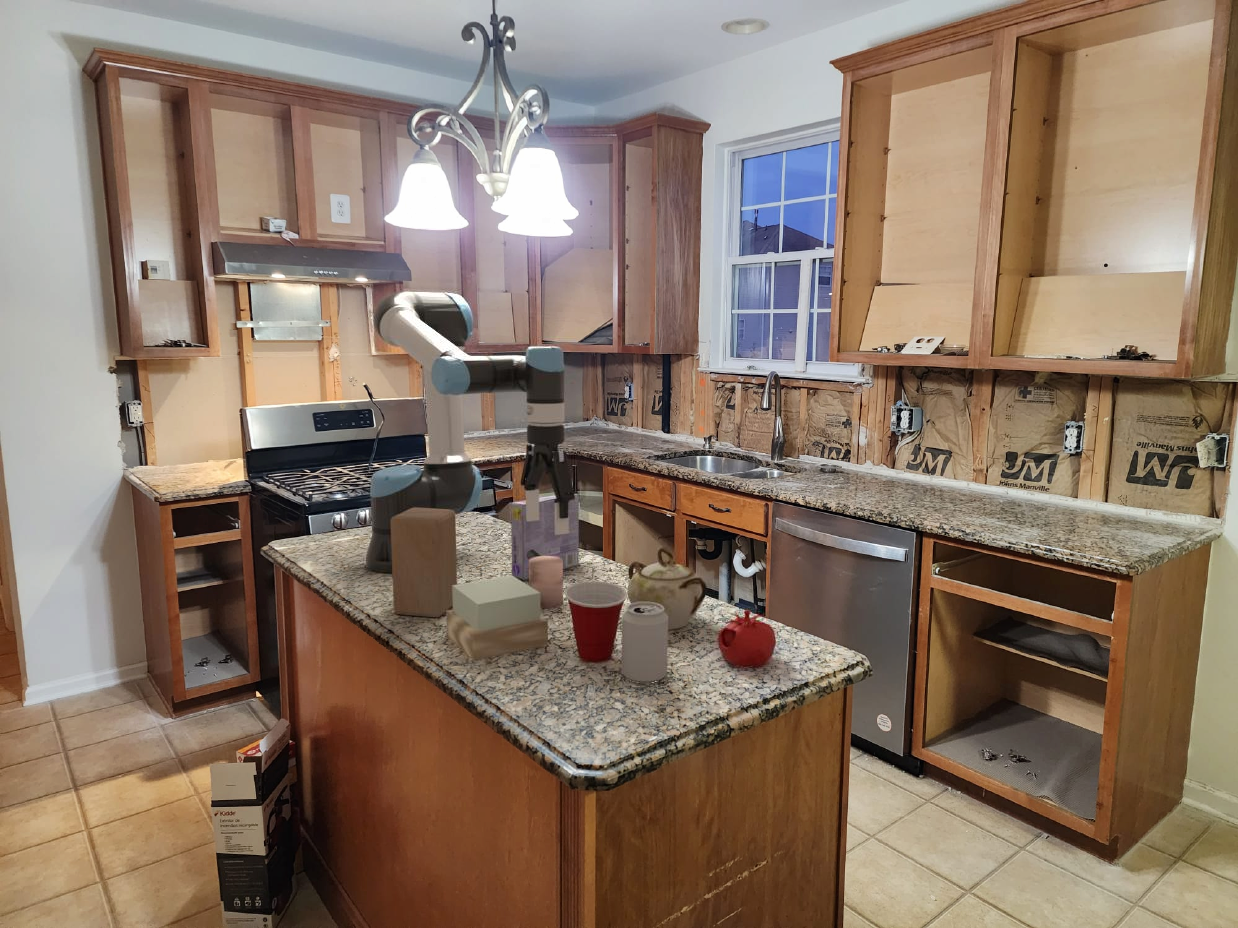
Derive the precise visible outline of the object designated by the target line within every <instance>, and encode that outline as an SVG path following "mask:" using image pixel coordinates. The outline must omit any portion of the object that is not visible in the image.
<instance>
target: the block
mask: <svg viewBox="0 0 1238 928" xmlns="http://www.w3.org/2000/svg"><path fill="white" fill-rule="evenodd" d="M456 527H457V526H456V514H455V511H453V510H450V509H433V508H416V507H414V508H411V509H409V510H407V511H404V512H402V513H400V514H398V515H396V516H394V517H392V518H391V546H392V573H391V574H392V595H393V599H392V600H393V612H394V614H396V615H404V616H414V617H415V616H416V617H428V618H440V617H441V616H442V615H443V614H445V613H446V610H450V609H451V608H453V597H452V585H457V584H458V578H457V577H458V574H457V571H458V570H457V568H458V564H457V530H456V529H457V528H456Z"/></svg>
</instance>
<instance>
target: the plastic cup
mask: <svg viewBox="0 0 1238 928" xmlns="http://www.w3.org/2000/svg"><path fill="white" fill-rule="evenodd" d="M564 595H565V598H566V600H567V602H568V606H569V611H570V615H571V623H572V627H573V635H574V639H575V643H576V651H577V654H578V657H579V659H580V660H582V661H583V662H585V663H586V662H587V663H594V664H595V663H604V662H607V661H608V660H610V659H611V658H612V655H613V652H614V647H615V646H614V645H615V641H616V638H617V633H618V627H619V622H620V617H621V611H622V608H623V605H624V602H625V601H626V599H627V598H628V593H627V590H626V589H625V588H623V587H622V586H620V585H618V584H615V583H613V582H608V581H597V580H594V581H590V580H589V581H582V582H577V583H573V584H572V585H570V586H568V587H566V589H565V590H564Z"/></svg>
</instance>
